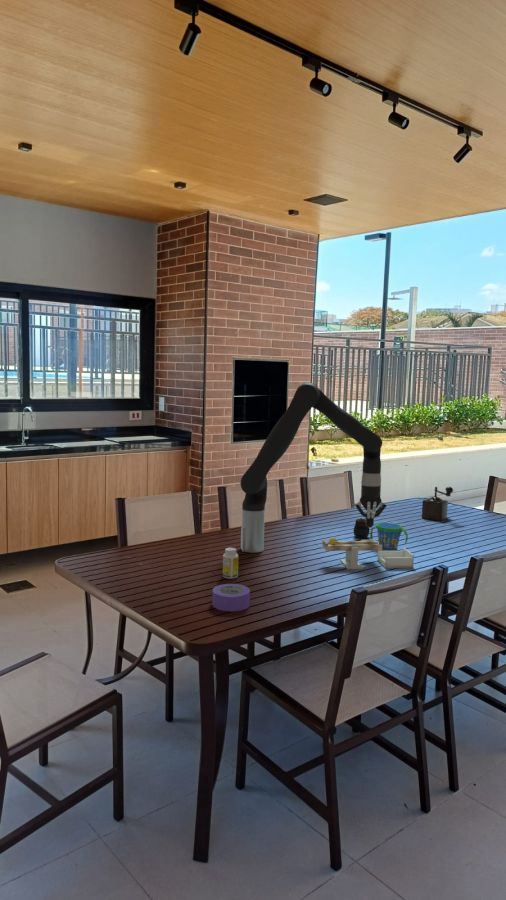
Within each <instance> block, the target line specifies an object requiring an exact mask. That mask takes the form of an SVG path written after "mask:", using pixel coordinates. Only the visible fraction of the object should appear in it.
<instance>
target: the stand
mask: <svg viewBox="0 0 506 900" xmlns="http://www.w3.org/2000/svg"><path fill="white" fill-rule="evenodd" d="M358 559H359V551H358V547H352V548H351V551H345V558H341V559H340V560H339V561H340V563H342V564H343V566H344V567H345V568H346V570H363V569H364V566H362V565H361V563H359V560H358Z"/></svg>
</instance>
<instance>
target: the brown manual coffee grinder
mask: <svg viewBox="0 0 506 900" xmlns="http://www.w3.org/2000/svg"><path fill="white" fill-rule="evenodd" d="M453 492H454V489H453V487H452V486H447V487H445V492H443V491H440V490H438V486H435V487H434V496H432V497H429V498H426V499H422V504H421V505H422V506H421V519H425V520H432V521H438V522H439V521H440V522H441V521H444V520H446V519H447V518H448V507H449V506H448V505H449V501H448V500H446V499H442V498H440V497H438V495H437V493H438V494H442V495H445V496H446V497H451V496H452V495H451V494H453Z"/></svg>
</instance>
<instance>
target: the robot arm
mask: <svg viewBox="0 0 506 900" xmlns="http://www.w3.org/2000/svg"><path fill="white" fill-rule="evenodd" d="M312 408H313V409H314V410H316V411H318V412H320V414H323V415H324V416H325V417H326V418H327V419H329V421H330V422H331V423H332V424H333V425H334V426H335V427H337V428H338V429H339V430H340V431H342V432H343V433H344V434H345V435H347V436H348V437H349V438H352V439H353V440H354V441H356V442H357V443H358V444H359V445H360V446H361V447H362V449H363V452H362V453H363V454H362V455H363V459H362V473H361V481H360V484H361V485H360V487H361V489H360V498H359V501H358V502H356V503H354V508H355V509H356V510H357V512H359V514H360V516H362V517H363V518H365V519H366V526H367V527H368V528H369V529H372V528H373V527H374V526H375V524H374V523H375V522H374V521H375V520H374V519H375V518H377V517H378V518H379V516H380V515H381V514H382V512H383V511H384V510H385V509H386V507H387V504H386V503H384V502H382V498H381V493H382V492H381V489H382V488H381V487H382V475H381V474H382V473H381V472H382V461H381V460H382V459H381V452H382V451H381V448H382V446H383V439H382V438H381V436H380V435H379V434H377V433H376V432H375V431H372V430H370V428H368V427H366V426H365V425H364V424H363V423H362V422H361V421H360V420H358V419H357V418H356V417H354V416H353V415H352V414H350V413H349V412H347V411H346V410H345V409H343V408H341V406H339V405H338V404H337V403H335V402H334V401H332V400H331V399H330V398H329V397H328V396H327V395H326V394H325V393H324V392H323V391H322V390H321V389H320V388H319V387H318V385H316V384H315V383H313V382H310V381H308V382H303V383H302V384H300V385H299V386H298V387H297V389H296V390H295V392H294V395H293V397H292V399H291V402H290V404H289V405H288V407H287V408H286V411H284V413H283V414H282V416H281V417H280V418H279V420H278V421H277V422H276V424H275V425H274V427H273V428H272V430H271V431H270V433H269V434H268V436H267V437H266V439H265V441H264V442H263V444H262V446H261V448H260V450H259V451H258V453H257V456H256V457H255V458H254V461H253V462H252V463H251V464H250V466H249V468H248V469H247V470H246V471H245V473H244V474H243V475H242V477H241V479H240V487H241V490H242V491H243V492H244V494H245V495H244V496H245V497H244V499H243V501H242V503H241V504H242V506H241V508H242V511H241V529H240V550H241V551H242V553H243V552H244V553H245V552H246V553H251V554H252V553H255V554H256V553H262V552H263V551H265V550H264V549H265V548H264V547H265V516H266V515H265V512H266V511H265V508H266V503H267V495H268V479H267V476H268V473H269V472H270V470H271V469H272V468H273V466H274V465H275V464H277V462H278V461H279V460H280V459H281V458H282V457H283V455H284V454H285V453H286V452H287V450H288V448H289V447H290V446H291V444H292V443H293V441H294V438H295V437H296V435H297V433H298V432H299V431H298V430H299V428H300V426H301V424H302V421H303V420H304V419H305V417H306V416H307V414H308V413H309V411H311V410H312ZM362 507H363V508H364V510H363V509H362ZM376 509H377V510H376Z"/></svg>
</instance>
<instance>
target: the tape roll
mask: <svg viewBox="0 0 506 900" xmlns="http://www.w3.org/2000/svg"><path fill="white" fill-rule="evenodd" d="M250 602H251V590H250V588H249V587H248V586H246V585H243V584H240V583H239V584H238V583H225V584H219V585H217V586H214V587H213V588H212V607H213V608H215V609H217V610H219V611H223V612H240V611H243V610H247V609H248V608H250V604H251V603H250Z"/></svg>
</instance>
